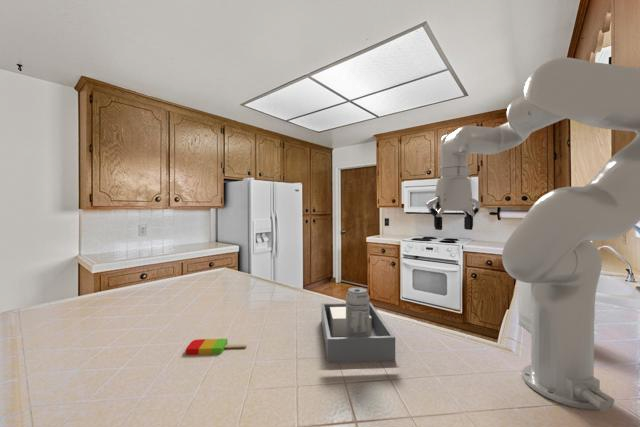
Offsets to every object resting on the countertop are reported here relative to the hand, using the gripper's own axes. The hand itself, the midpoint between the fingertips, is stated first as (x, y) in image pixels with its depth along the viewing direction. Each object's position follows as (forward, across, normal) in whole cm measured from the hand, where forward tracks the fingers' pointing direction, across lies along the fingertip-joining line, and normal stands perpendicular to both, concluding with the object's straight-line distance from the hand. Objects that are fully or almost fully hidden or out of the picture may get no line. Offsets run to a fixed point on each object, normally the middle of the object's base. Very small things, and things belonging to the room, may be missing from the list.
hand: (453, 229), depth 84 cm
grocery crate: (+30, +33, +7) cm, 45 cm away
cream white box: (+29, +33, +2) cm, 44 cm away
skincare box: (+31, -24, +4) cm, 39 cm away
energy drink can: (+30, +33, +13) cm, 46 cm away
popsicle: (+31, +70, +8) cm, 77 cm away
